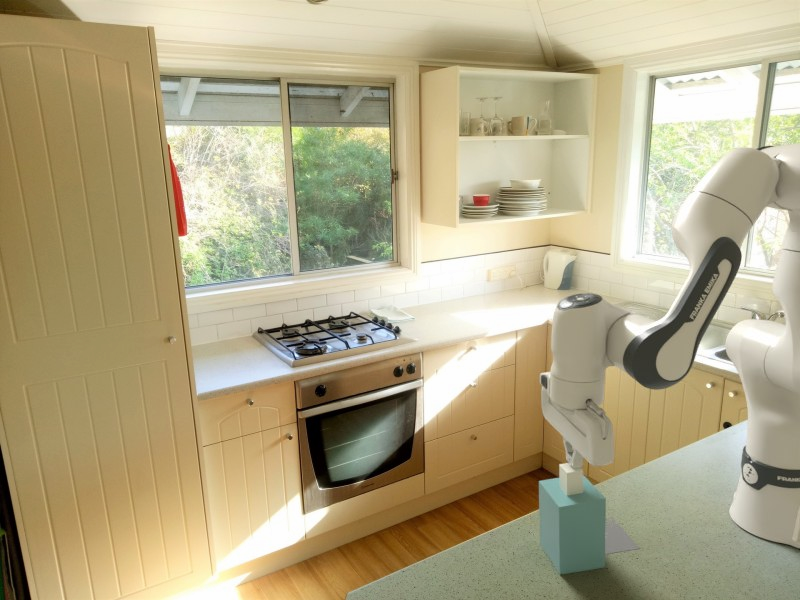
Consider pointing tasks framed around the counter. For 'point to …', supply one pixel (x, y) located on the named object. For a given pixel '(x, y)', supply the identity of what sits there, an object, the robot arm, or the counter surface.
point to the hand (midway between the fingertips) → (574, 463)
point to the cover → (572, 521)
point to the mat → (617, 538)
